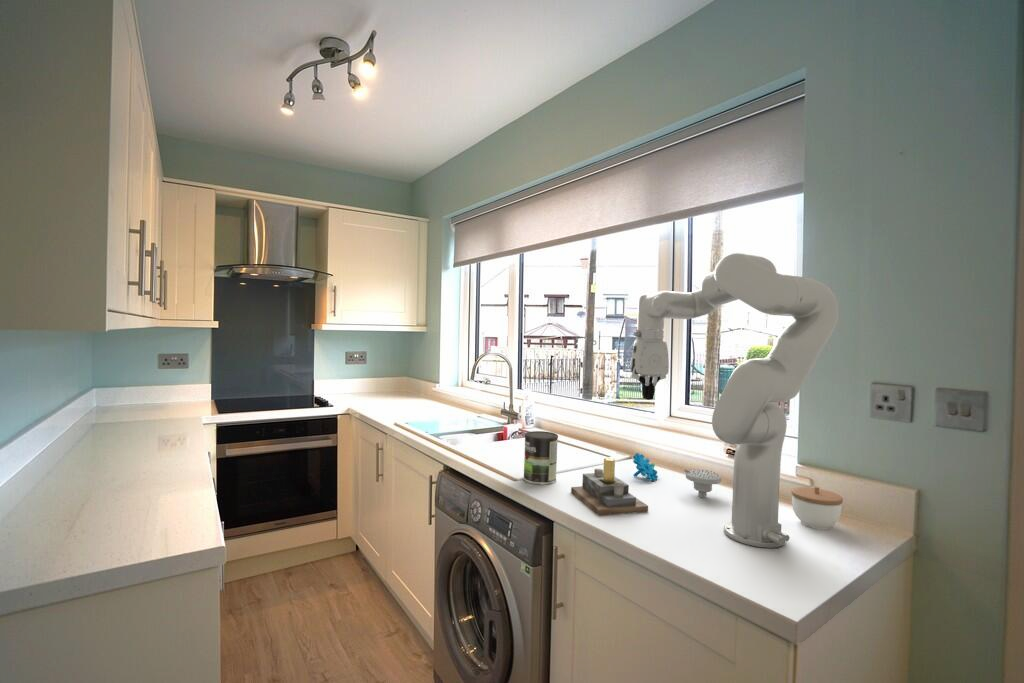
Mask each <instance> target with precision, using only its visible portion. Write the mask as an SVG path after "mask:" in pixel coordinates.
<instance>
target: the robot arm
mask: <svg viewBox="0 0 1024 683" xmlns="http://www.w3.org/2000/svg"><path fill="white" fill-rule="evenodd" d="M738 300H739V301H741V302H743V303H744V304H746V305H748V306H749V307H751V308H753V309H755V310H757V311H758V312H761V313H763V314H766V315H770V316H772V315H773V316H780V317H781V316H782V317H784V316H785V317H792V320H791V322H789V324H788V325H787V326H786V327H785V328H784V329H783V330H781V332H780V333H779V335H778V336H777V338H776V341H775V342H774V345H773V346H772V349H771V350H770V352H769V353H768V355H767V356H766V357H762V358H761V357H760V358H758V357H757V358H751V359H747V360H745V361H742V362H741V363H740V364H739V365H737V367H736V368H734V370H733V371H732V373H731V374H730V376H729V378H728V380H727V382H726V383H725V387H724V388H723V391H722V392H721V394H720V396H719V399H718V401H717V403H716V405H715V407H714V409H713V412H712V417H711V424H712V425H711V426H712V430H713V432H714V434H715V436H716V437H717V438H718V439H719V440H720V441H721V442H724V443H725V444H729V445H736V447H735V448H736V449H735V452H734V458H733V473H732V474H733V476H732V478H733V479H732V481H733V482H732V504H731V505H732V506H731V508H732V509H731V521H729V522H727V523H725V524H724V527H723V532H724V534H725V535H727V537H729V539H730V538H731V540H734V541H736V542H738V543H741V544H744V545H748V546H751V547H757V548H766V549H767V548H770V549H772V548H778V547H783V546H784V545H785V544H786V542H788V541H789V540H790V535H789V534H787V533H785V532H782V525H783V524H782V523H780V522H779V506H780V505H779V504H780V481H781V480H780V479H781V478H780V476H781V462H782V452H783V451H782V450H783V446H784V442H785V438H786V433H787V426H788V425H787V422H788V421H787V416H786V415H785V414H786V413H784V412H785V411H784V410H783V409H782V407H780V405H778V404H777V403H779V402H786V401H790V400H792V399H794V398H795V397H797V396H798V394H799V393H800V391H801V389H802V388H803V386H804V384H805V382H806V380H807V378H808V377H809V375H810V372H811V371H812V369H813V368H814V366H815V364H816V362H817V361H818V358H819V356H820V354H821V353H822V350H823V349H824V347H825V346H826V344H827V343H828V340H829V339H830V337H831V336H832V334H833V332H834V330H835V327H836V326H837V324H838V319H839V304H838V301H837V298H836V296H835V294H834V293H833V291H832V290H831V289H830V288H829V287H828V286H827V285H826V284H825V283H823V282H821V281H819V280H817V279H814V278H810V277H805V276H798V275H796V276H795V275H787V274H783V273H782V274H781V273H779V272H777V269H776V266H775V264H774V263H773V262H772V261H771V260H769V258H766V257H763V256H761V255H753V254H747V253H739V252H735V253H734V252H733V253H730V254H728V255H727V254H726V255H725V256H723V257H722V258H721V259H720V260H719V261H718V262H717V264H716V266H715V268H714V271H712V272H709V273H707V274H706V275H704V276H703V277H702V279H701V284H700V288H699V289H698V290H697V289H696V290H694V291H691V292H690V291H689V292H683V291H671V290H661V291H657V292H653V293H652V292H651V293H642V294H640V295H639V296H638V299H637V322H636V323H637V324H636V327H637V328H636V331H633V334H632V336H633V337H635V338H636V340H634V343H633V347H632V354H631V363H630V371H631V378H632V379H635V380H638V381H639V383H640V384H641V386H642V387H641V388H642V390H641V391H642V393H641V394H642V399H644V400H648V401H649V400H651V401H653V400H654V398H655V397H654V396H655V387H656V386H657V384H658V383H659V381H661V380H665V379H667V375H668V374H669V368H670V363H669V360H670V359H669V351H668V345H667V343H668V342H667V341H665V340H664V338H665V335H664V334H665V319H671V320H672V319H674V320H675V319H676V320H692V319H696V318H699V317H703V316H706V315H709V314H712V313H714V312H715V311H717V309H719V308H720V307H721V306H722V305H725V304H729V303H732V302H735V301H738Z"/></svg>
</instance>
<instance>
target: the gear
mask: <svg viewBox="0 0 1024 683" xmlns="http://www.w3.org/2000/svg"><path fill="white" fill-rule="evenodd" d="M632 458H633V460H632V462H633V464H635V465H636V466H635V468H636V469H637V471H636V472H634V473H633V476H634V477H635V476H636V477H637V476H638V475H641V476H643V477H644V476H646V479H647V480H648V481H651V482H655V481H657V480H656V479H658V478H659V476H658V475H657V474H658V471H657V470H656V469H655V466H656V464H655V463H654V462H652V463H650V462H651V460H650V459H649V458H645V455H644V454H642V453H641V454H640V453H639V452H636V453H635V454H634V455H632ZM644 458H645V459H644Z"/></svg>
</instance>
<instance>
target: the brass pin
mask: <svg viewBox="0 0 1024 683" xmlns="http://www.w3.org/2000/svg"><path fill="white" fill-rule="evenodd" d="M615 465H616V460H615V458H609V457H607V458H606V457H605V458H603V469H602V470H603V483H604V484H614V476H615V477H616V475H615V470H616V466H615Z"/></svg>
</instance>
